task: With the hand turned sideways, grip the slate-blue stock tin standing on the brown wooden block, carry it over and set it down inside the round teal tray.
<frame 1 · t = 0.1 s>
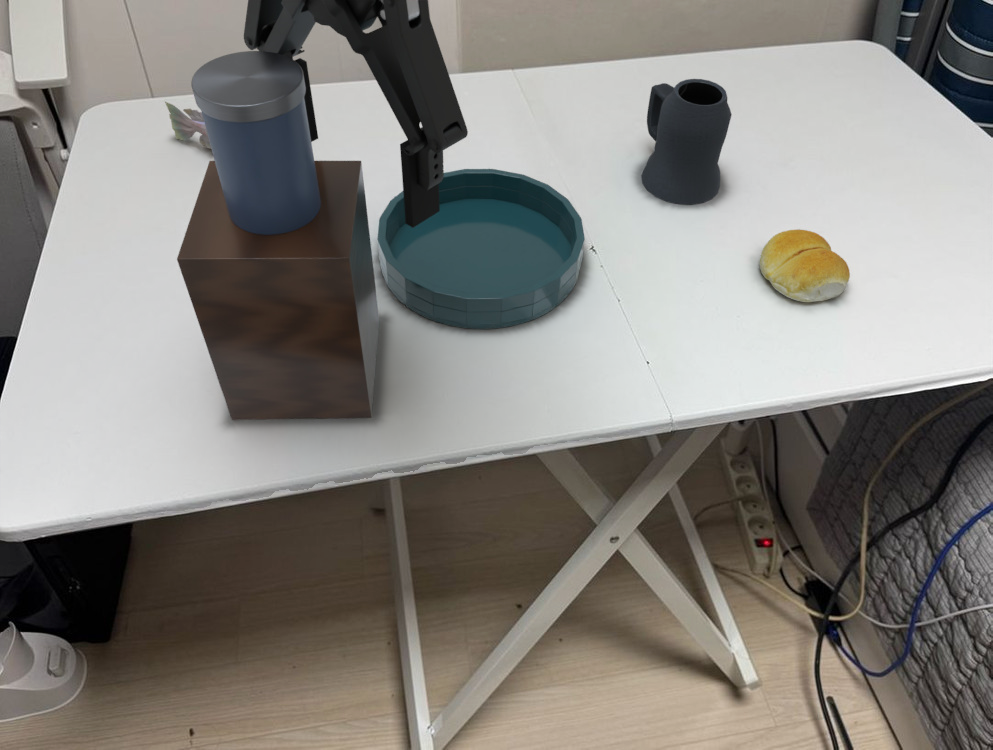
hand: (359, 179, 63), 19 cm above the table, tool pointing down, fingers open, 13 cm apart
stock tin: (275, 206, 62), point 18 cm above the table, touching brown wooden block
round teal tray: (480, 258, 86), on the table
fish: (222, 156, 98), on the table
brown wooden block: (309, 367, 76), on the table
bread roll: (799, 277, 86), on the table
mug: (673, 175, 97), on the table
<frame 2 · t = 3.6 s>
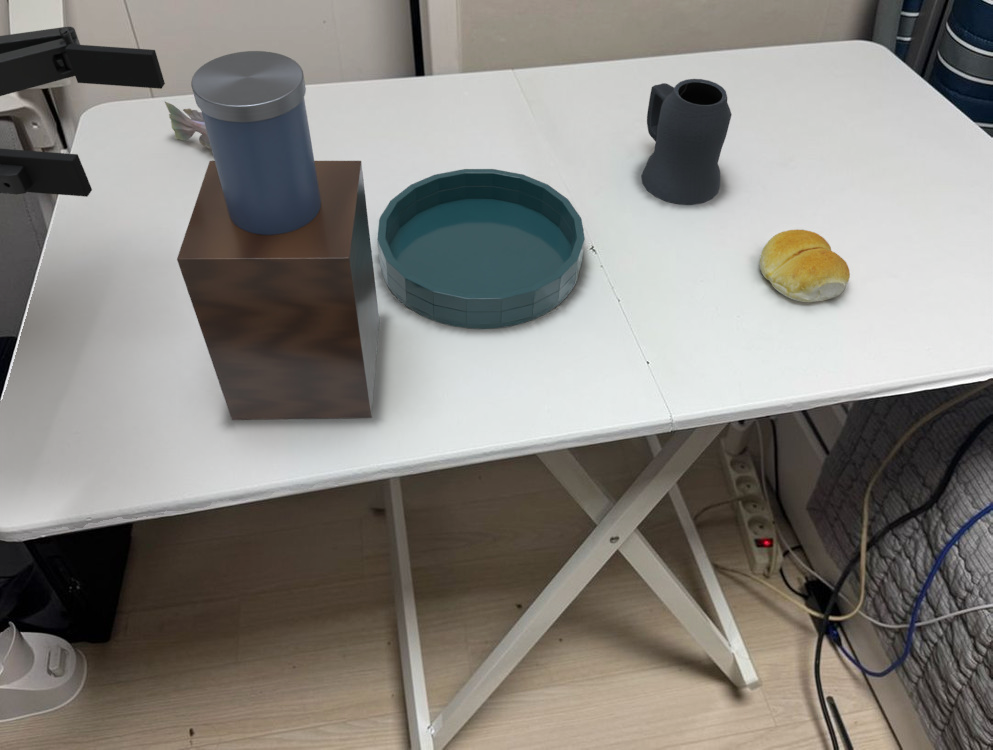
hand: (124, 118, 58), 25 cm above the table, tool horizontal, fingers open, 13 cm apart
nothing on the table moved.
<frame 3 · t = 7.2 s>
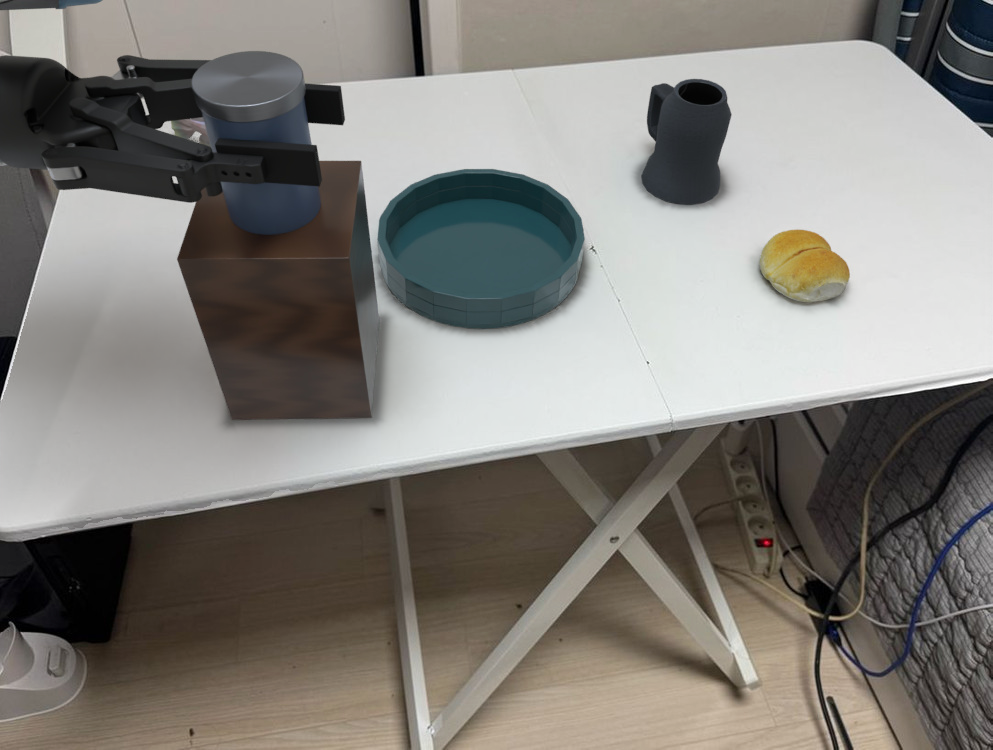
hand: (330, 134, 57), 24 cm above the table, tool horizontal, fingers closed on stock tin, 7 cm apart
stock tin: (275, 206, 62), point 18 cm above the table, touching brown wooden block, gripper
everything else where it was.
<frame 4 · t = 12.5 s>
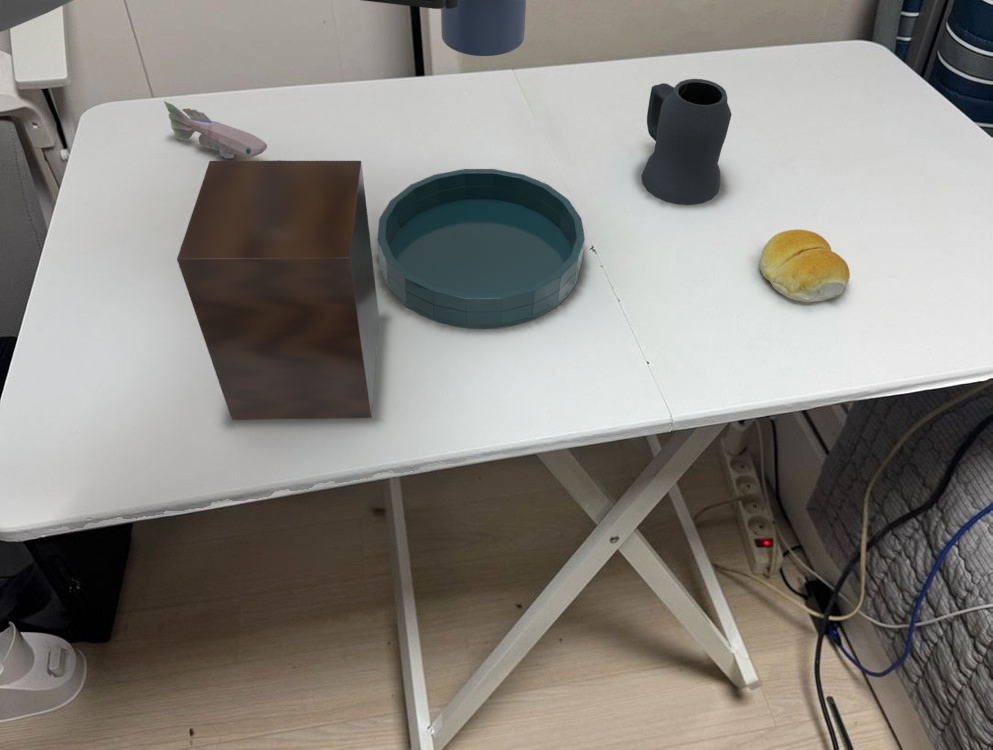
stock tin: (482, 36, 68), point 24 cm above the table, touching gripper
everything else where it was.
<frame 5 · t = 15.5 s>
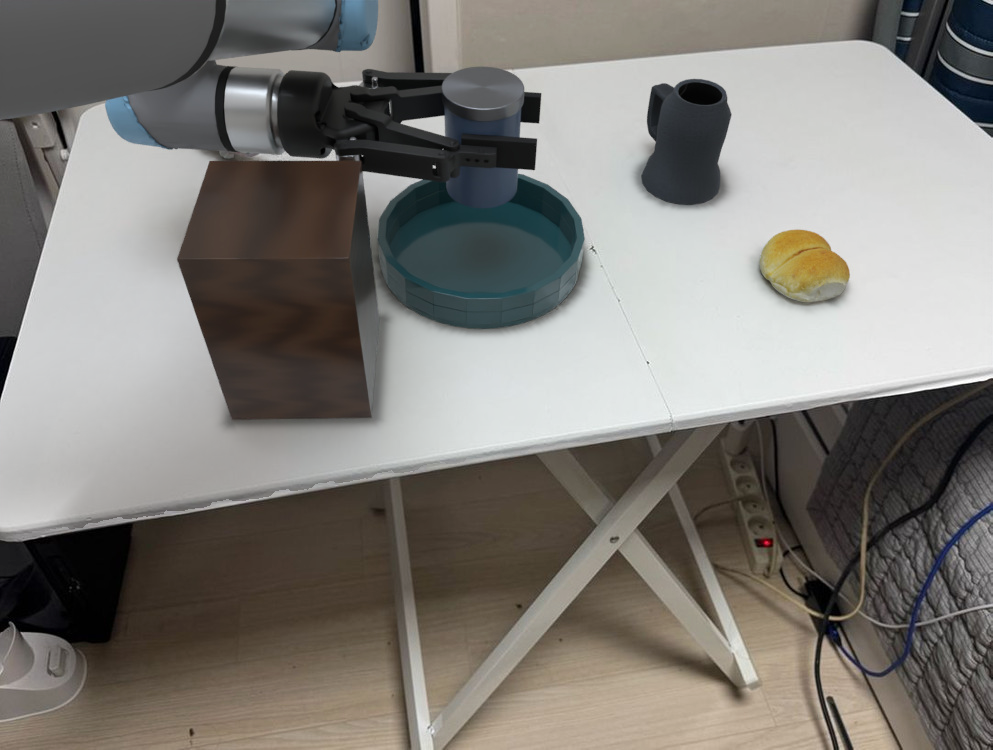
hand: (537, 130, 75), 15 cm above the table, tool horizontal, fingers closed on stock tin, 7 cm apart
stock tin: (481, 186, 80), point 9 cm above the table, touching gripper
everything else where it was.
when the fingers open (7 cm above the table, at t = 17.8 s): stock tin stays where it is, resting on round teal tray.
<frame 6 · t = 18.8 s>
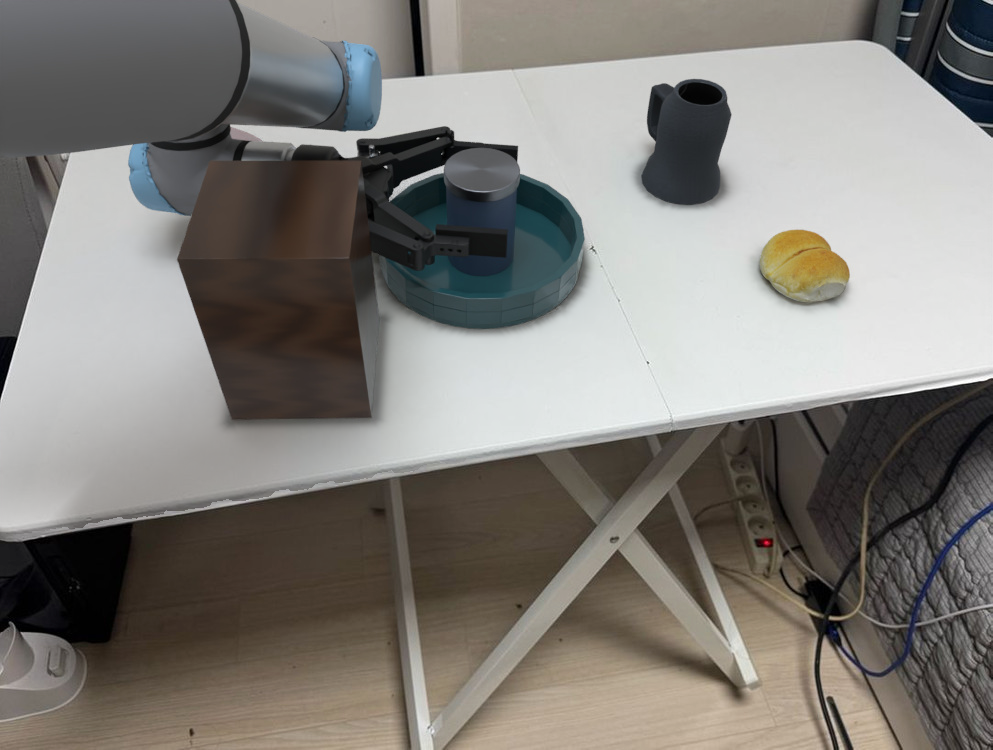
hand: (513, 199, 80), 8 cm above the table, tool horizontal, fingers open, 13 cm apart
stock tin: (480, 254, 86), point 1 cm above the table, touching round teal tray
everything else where it was.
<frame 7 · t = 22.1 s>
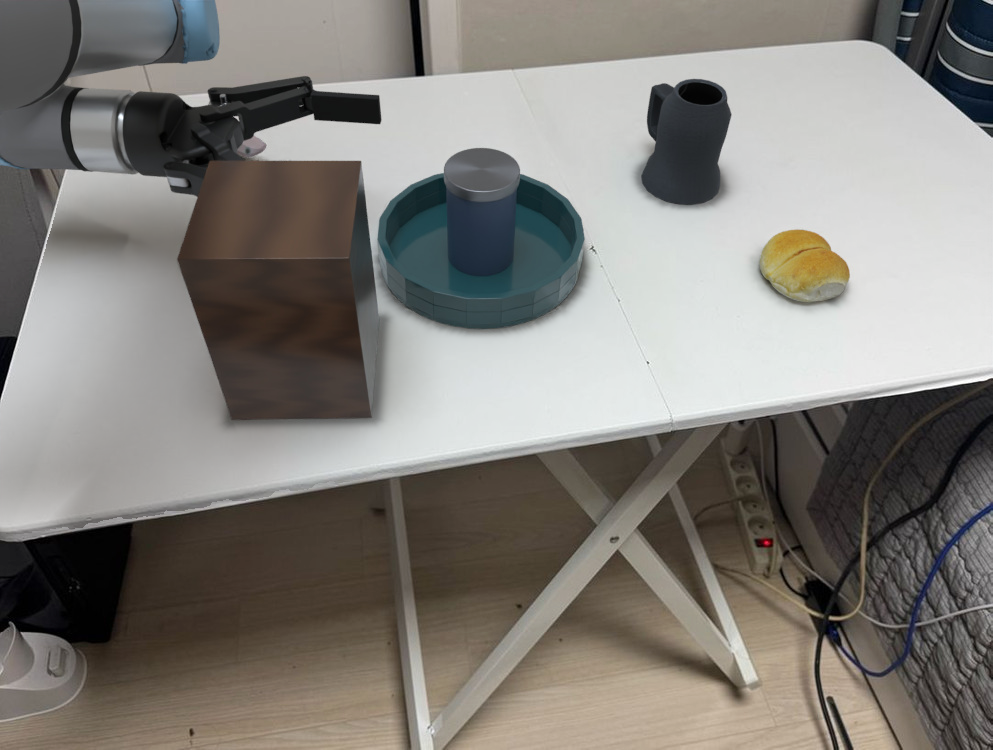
hand: (368, 148, 76), 13 cm above the table, tool horizontal, fingers open, 12 cm apart
nothing on the table moved.
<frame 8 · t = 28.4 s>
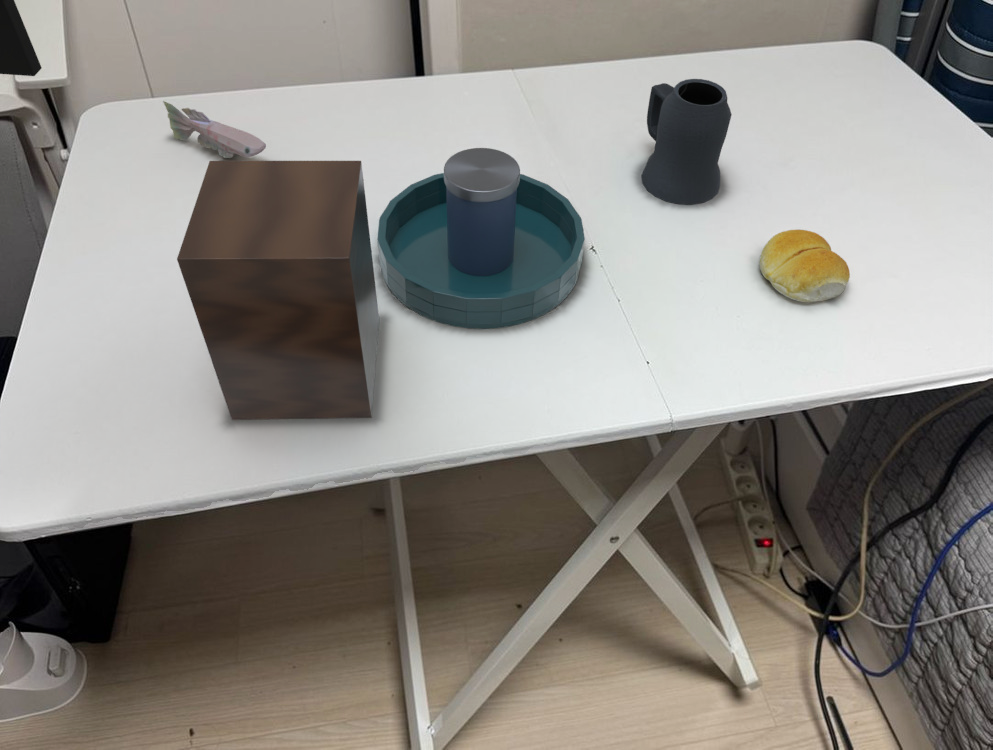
hand: (72, 5, 43), 37 cm above the table, tool pointing down, fingers open, 13 cm apart
nothing on the table moved.
at the end: stock tin inside the target area in the round teal tray (0.0 cm from its centre), point 0.6 cm above the round teal tray's base; stock tin tilted 0°; the gripper is holding nothing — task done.
